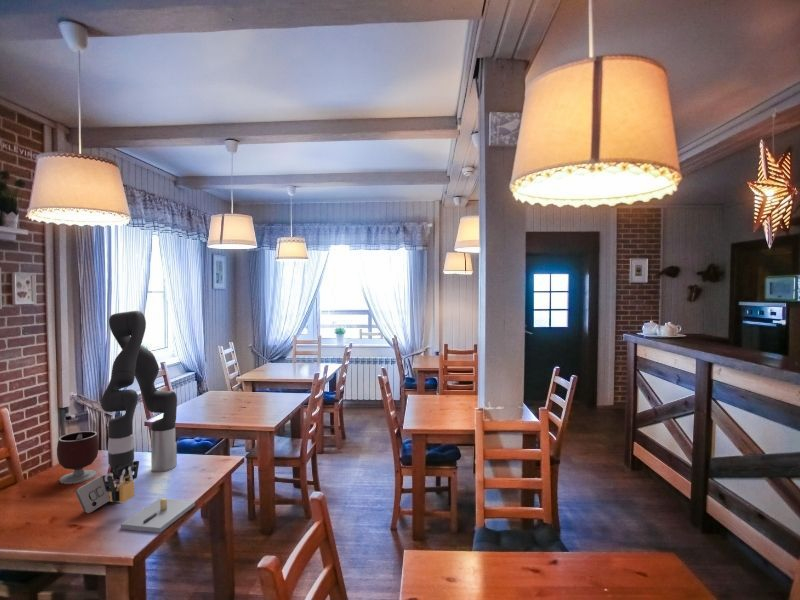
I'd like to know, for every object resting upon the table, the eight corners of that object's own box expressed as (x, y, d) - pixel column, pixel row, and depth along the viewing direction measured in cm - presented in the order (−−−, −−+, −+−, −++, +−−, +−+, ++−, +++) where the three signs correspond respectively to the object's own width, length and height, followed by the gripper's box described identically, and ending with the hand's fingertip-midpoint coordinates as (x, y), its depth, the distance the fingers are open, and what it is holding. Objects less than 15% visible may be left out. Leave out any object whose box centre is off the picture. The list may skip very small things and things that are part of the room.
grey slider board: (159, 502, 162) (159, 489, 161) (194, 505, 159) (194, 491, 159) (120, 528, 144) (120, 513, 144) (160, 532, 142) (160, 516, 141)
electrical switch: (88, 514, 153) (80, 489, 152) (79, 513, 155) (71, 489, 154) (114, 498, 161) (107, 474, 160) (105, 497, 163) (98, 474, 162)
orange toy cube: (121, 494, 156) (121, 480, 156) (134, 495, 155) (134, 481, 155) (110, 501, 151) (109, 487, 151) (123, 502, 150) (123, 488, 150)
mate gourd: (55, 476, 184) (55, 428, 184) (96, 468, 193) (95, 421, 193) (59, 489, 172) (58, 437, 172) (102, 479, 181) (101, 430, 181)
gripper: (127, 440, 160) (128, 487, 161) (94, 455, 146) (95, 507, 147) (146, 441, 159) (147, 488, 160) (114, 457, 145) (115, 508, 145)
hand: (122, 497), depth 153 cm, fingers closed on orange toy cube, 5 cm apart
